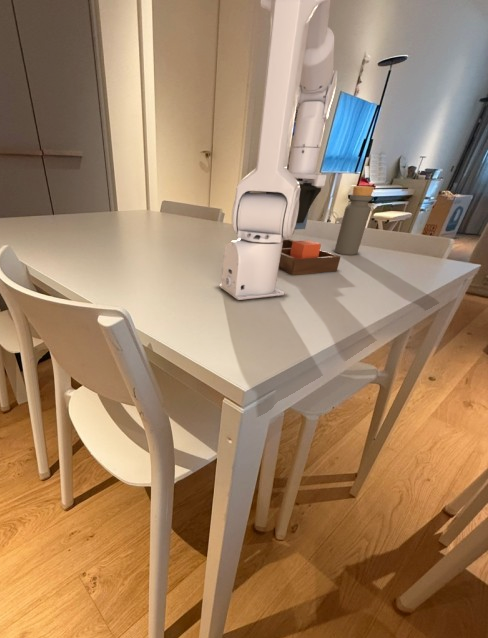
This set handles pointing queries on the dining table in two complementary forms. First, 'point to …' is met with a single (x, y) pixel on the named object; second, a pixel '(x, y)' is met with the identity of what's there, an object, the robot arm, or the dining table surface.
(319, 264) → the tray
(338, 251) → the bottle
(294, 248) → the terracotta block
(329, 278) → the dining table surface
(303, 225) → the blue block
